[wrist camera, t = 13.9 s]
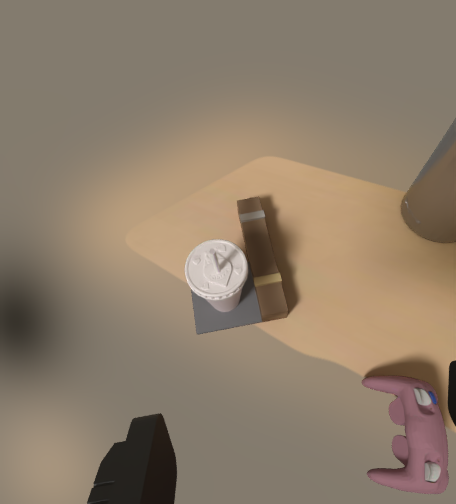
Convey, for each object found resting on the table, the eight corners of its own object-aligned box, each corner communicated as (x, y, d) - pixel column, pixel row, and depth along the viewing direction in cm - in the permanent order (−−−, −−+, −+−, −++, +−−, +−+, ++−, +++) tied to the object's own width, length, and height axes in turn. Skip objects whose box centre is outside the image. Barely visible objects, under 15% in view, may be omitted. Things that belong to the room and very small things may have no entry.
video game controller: (399, 484, 33) (468, 504, 27) (362, 482, 32) (426, 502, 26) (389, 380, 37) (447, 377, 31) (356, 374, 36) (410, 370, 30)
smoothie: (212, 332, 40) (190, 293, 27) (191, 287, 42) (163, 233, 30) (259, 308, 40) (259, 259, 28) (236, 265, 43) (226, 204, 31)
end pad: (249, 263, 44) (249, 262, 43) (262, 322, 40) (262, 321, 40) (189, 274, 44) (189, 273, 43) (197, 334, 40) (196, 334, 40)
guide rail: (259, 208, 47) (259, 194, 44) (287, 317, 40) (289, 309, 37) (237, 213, 47) (235, 199, 44) (261, 322, 40) (261, 314, 37)
